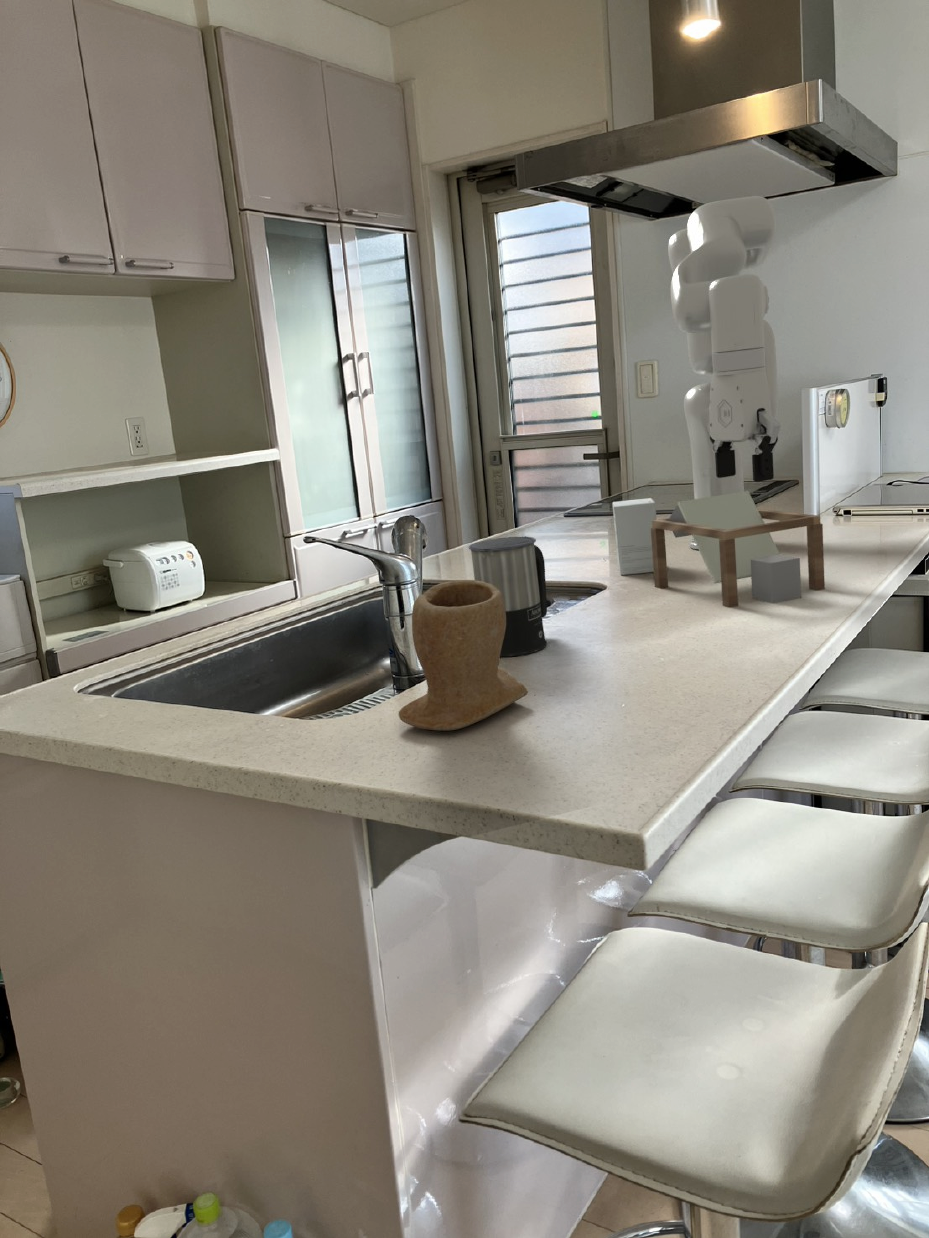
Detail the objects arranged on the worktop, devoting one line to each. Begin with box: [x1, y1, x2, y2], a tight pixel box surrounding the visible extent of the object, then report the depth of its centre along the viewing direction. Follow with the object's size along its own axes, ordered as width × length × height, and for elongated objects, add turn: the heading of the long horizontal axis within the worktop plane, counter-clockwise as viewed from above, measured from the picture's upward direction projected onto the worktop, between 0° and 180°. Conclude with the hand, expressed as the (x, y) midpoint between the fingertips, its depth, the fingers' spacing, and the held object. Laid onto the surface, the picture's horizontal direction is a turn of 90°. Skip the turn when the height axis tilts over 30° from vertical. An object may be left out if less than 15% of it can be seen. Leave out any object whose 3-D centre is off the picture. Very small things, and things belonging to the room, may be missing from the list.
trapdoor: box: [668, 490, 781, 584], centre depth 161 cm, size 15×13×5 cm
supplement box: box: [612, 497, 658, 576], centre depth 183 cm, size 7×7×13 cm
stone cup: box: [397, 579, 529, 731], centre depth 109 cm, size 15×12×15 cm
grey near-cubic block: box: [750, 553, 802, 604], centre depth 150 cm, size 5×5×6 cm
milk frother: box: [468, 535, 548, 658], centre depth 140 cm, size 14×16×15 cm
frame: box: [651, 508, 826, 608], centre depth 160 cm, size 22×17×11 cm
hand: (744, 478), depth 154 cm, fingers open, 9 cm apart
